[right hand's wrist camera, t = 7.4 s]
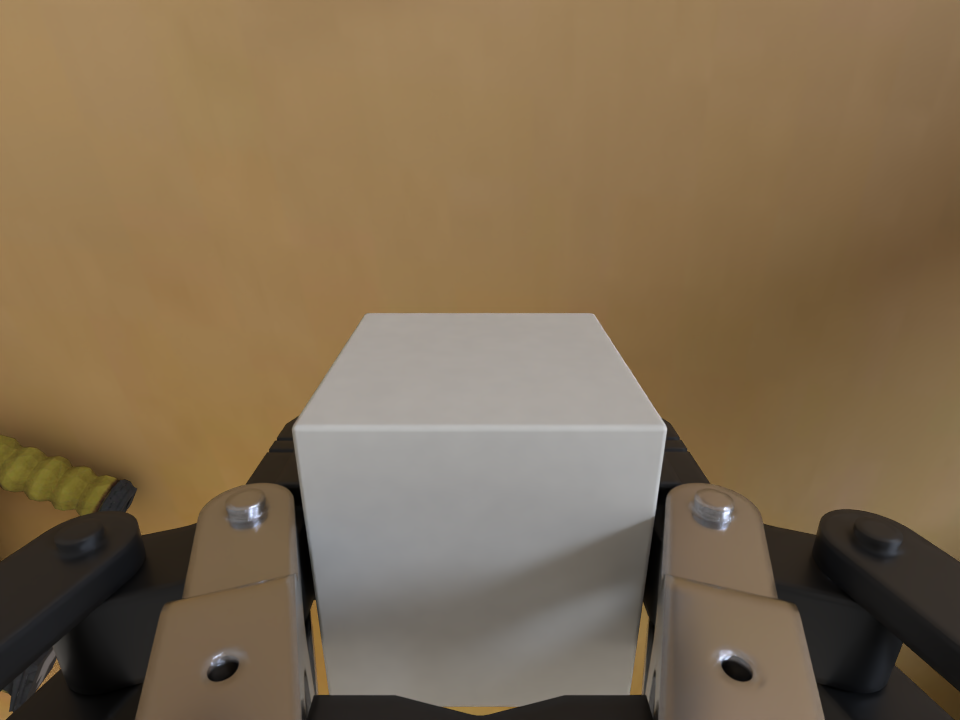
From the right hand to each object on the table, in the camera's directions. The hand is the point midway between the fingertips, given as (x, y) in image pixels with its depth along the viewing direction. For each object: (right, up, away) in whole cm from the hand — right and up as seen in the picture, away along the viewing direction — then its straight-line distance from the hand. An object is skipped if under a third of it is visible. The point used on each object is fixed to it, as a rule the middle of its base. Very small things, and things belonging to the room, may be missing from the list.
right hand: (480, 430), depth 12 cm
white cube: (0, 0, 0) cm, 0 cm away
